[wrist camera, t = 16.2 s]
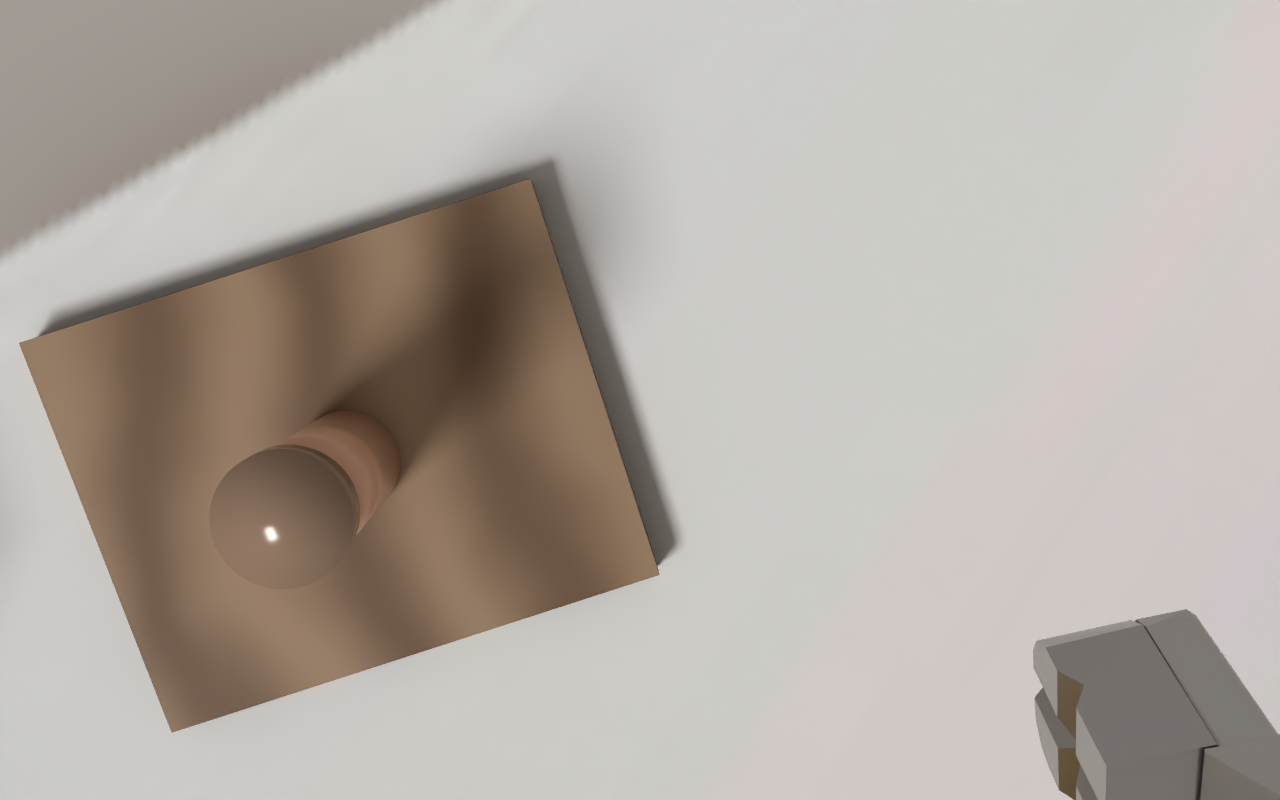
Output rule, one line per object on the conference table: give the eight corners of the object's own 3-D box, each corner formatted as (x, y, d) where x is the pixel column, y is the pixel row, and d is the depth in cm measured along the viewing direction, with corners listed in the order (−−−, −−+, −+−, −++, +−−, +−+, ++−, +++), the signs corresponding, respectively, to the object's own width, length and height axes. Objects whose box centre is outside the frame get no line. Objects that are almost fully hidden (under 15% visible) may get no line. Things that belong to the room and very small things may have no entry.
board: (531, 180, 45) (530, 178, 44) (657, 566, 47) (659, 574, 46) (34, 340, 45) (19, 343, 44) (182, 720, 47) (171, 732, 46)
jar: (382, 393, 45) (324, 432, 35) (418, 497, 45) (372, 564, 35) (276, 427, 44) (189, 476, 35) (313, 530, 45) (237, 607, 35)
